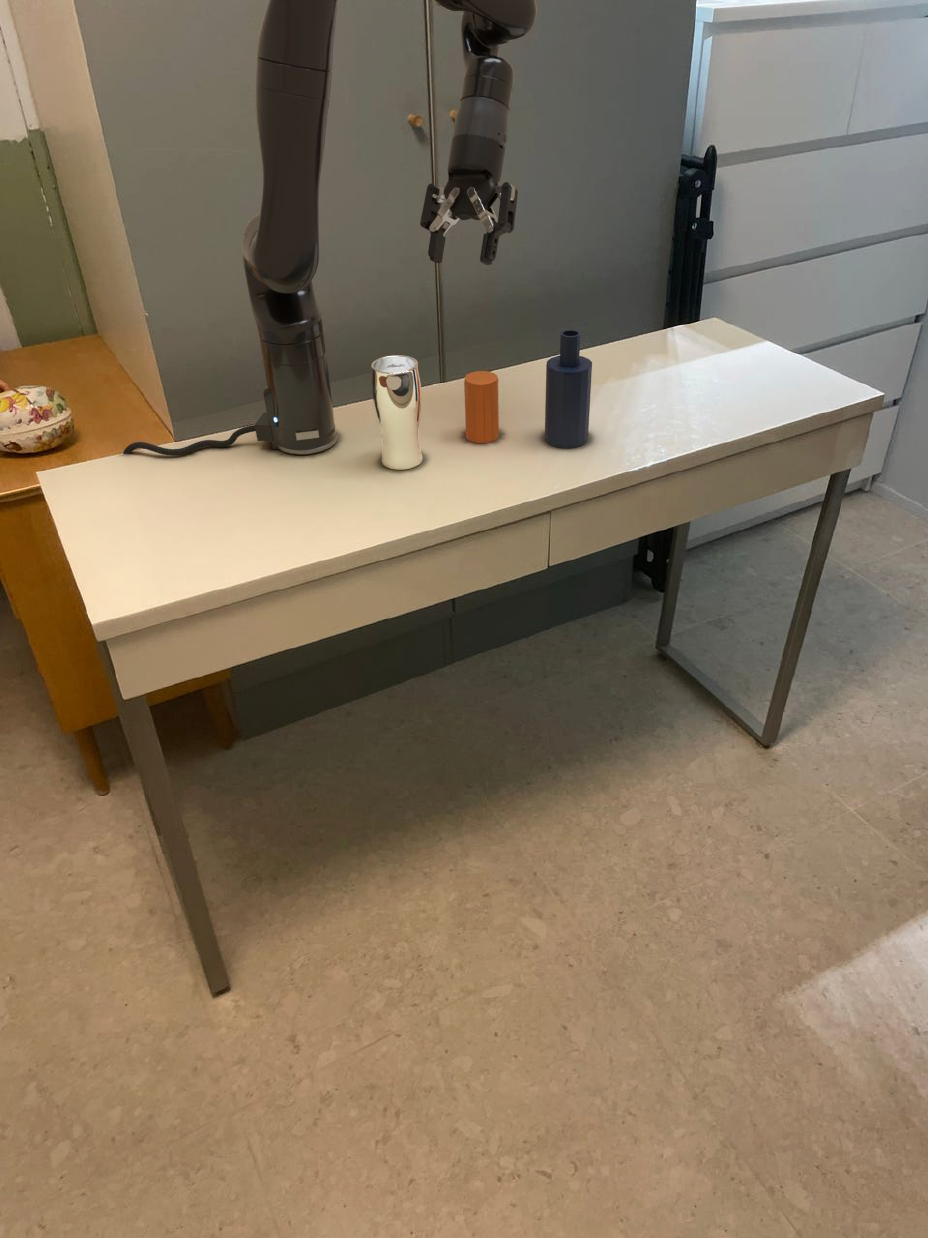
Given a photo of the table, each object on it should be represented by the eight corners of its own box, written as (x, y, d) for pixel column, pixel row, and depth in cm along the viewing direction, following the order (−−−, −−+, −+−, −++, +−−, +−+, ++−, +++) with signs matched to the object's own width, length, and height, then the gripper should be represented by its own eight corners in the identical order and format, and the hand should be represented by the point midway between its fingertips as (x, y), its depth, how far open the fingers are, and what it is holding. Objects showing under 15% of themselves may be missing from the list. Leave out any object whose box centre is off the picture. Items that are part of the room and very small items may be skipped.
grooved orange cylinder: (464, 442, 143) (462, 383, 137) (468, 428, 147) (466, 370, 141) (496, 443, 143) (496, 384, 137) (499, 429, 147) (499, 371, 141)
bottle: (543, 447, 141) (546, 341, 131) (546, 428, 146) (548, 324, 136) (587, 448, 140) (593, 341, 130) (588, 429, 146) (594, 325, 136)
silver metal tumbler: (419, 473, 136) (412, 374, 127) (373, 469, 137) (363, 372, 128) (430, 451, 141) (424, 355, 132) (385, 448, 142) (377, 353, 133)
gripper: (422, 133, 130) (404, 254, 132) (510, 128, 123) (489, 256, 125) (451, 153, 136) (433, 268, 139) (536, 150, 129) (516, 271, 131)
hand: (460, 262), depth 132 cm, fingers open, 8 cm apart
